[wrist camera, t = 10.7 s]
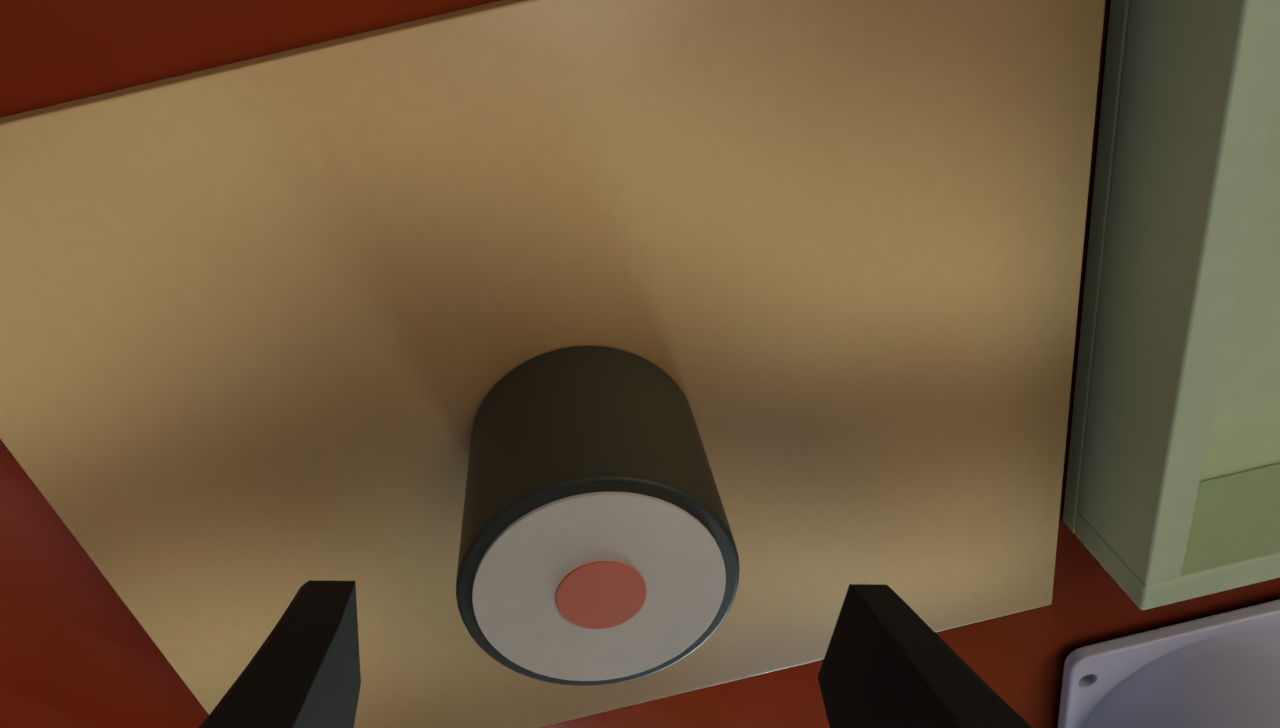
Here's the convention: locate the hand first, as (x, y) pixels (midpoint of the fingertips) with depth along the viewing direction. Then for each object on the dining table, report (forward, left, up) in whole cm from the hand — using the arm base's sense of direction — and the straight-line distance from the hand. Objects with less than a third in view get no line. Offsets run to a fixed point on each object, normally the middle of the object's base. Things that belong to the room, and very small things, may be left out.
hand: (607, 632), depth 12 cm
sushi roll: (0, 0, -5) cm, 5 cm away
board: (0, 0, -6) cm, 6 cm away
